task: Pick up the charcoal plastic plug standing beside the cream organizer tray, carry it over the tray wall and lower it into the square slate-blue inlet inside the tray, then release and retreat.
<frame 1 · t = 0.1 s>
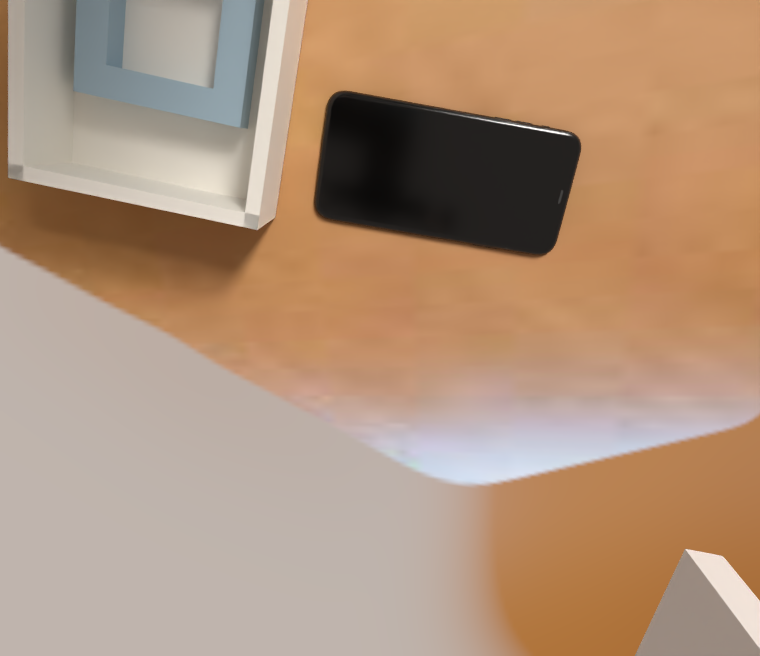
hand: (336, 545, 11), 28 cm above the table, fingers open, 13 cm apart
tray box: (187, 9, 33), on the table
smartphone: (444, 175, 36), on the table
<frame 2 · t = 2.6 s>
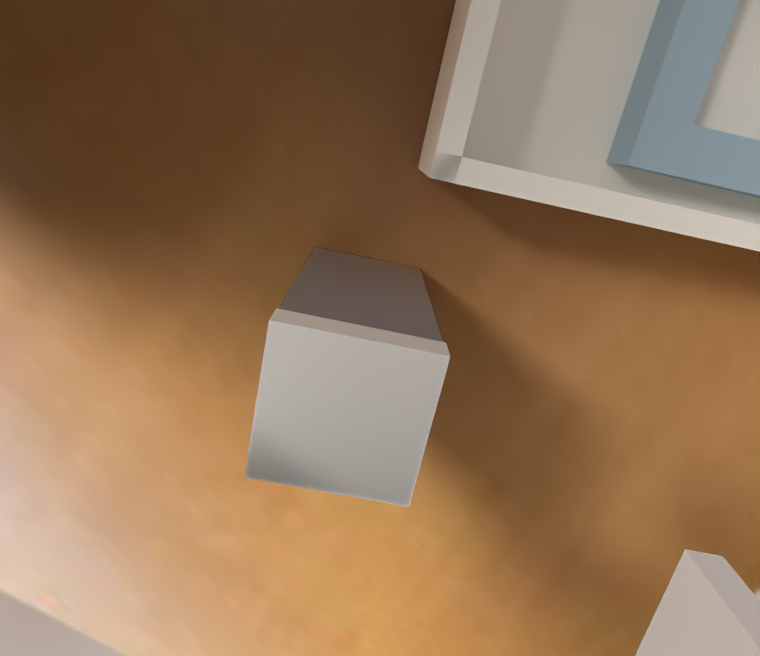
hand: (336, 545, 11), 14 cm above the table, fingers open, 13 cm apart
tray box: (742, 45, 21), on the table
grey plug: (357, 307, 24), on the table
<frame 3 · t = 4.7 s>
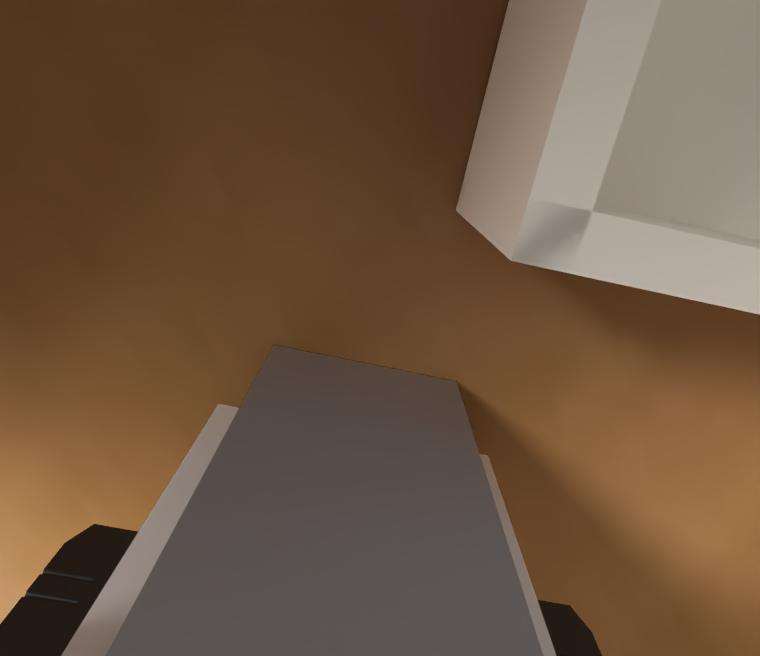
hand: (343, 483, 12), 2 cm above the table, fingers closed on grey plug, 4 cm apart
grey plug: (347, 444, 14), on the table, touching gripper
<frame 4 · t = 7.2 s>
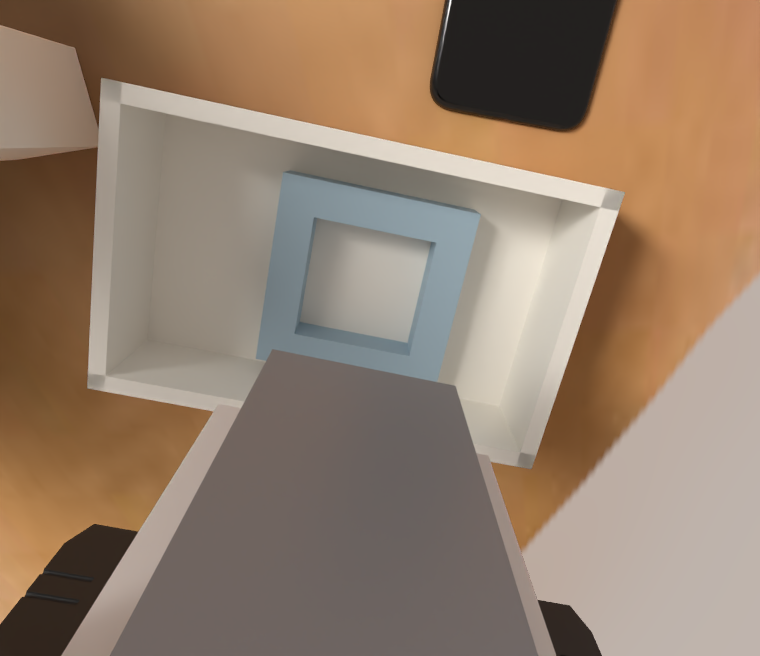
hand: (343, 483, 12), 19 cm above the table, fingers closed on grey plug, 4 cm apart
cream plug: (45, 105, 27), on the table
tray box: (347, 268, 30), on the table
grey plug: (346, 448, 14), point 17 cm above the table, touching gripper
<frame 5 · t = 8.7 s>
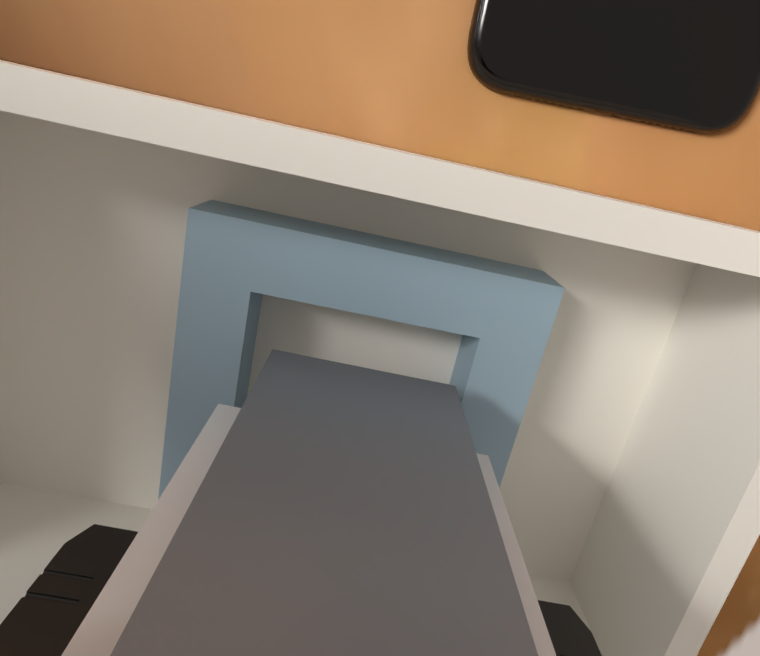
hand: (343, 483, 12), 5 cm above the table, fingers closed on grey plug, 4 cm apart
tray box: (319, 365, 17), on the table
grey plug: (347, 448, 14), point 4 cm above the table, touching gripper
when the fingers open (3 cm above the table, at t = 9.7 s): grey plug stays where it is, resting on tray box.
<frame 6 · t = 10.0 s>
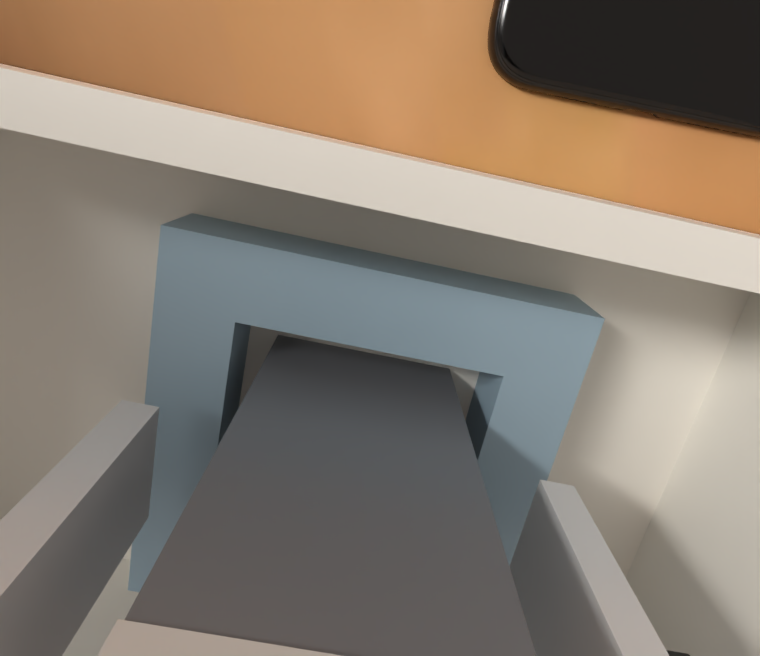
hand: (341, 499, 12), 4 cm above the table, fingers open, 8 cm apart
tray box: (317, 400, 15), on the table
grey plug: (348, 428, 15), resting on tray box
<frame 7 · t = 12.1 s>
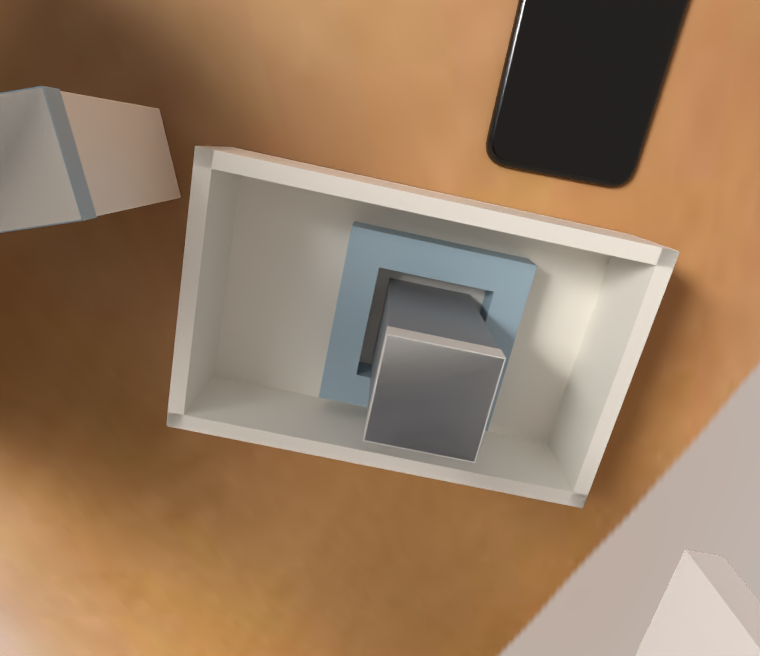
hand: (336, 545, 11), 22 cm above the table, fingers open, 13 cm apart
cream plug: (129, 160, 29), on the table
tray box: (405, 312, 31), on the table
grey plug: (420, 324, 31), resting on tray box
smartphone: (596, 9, 27), on the table
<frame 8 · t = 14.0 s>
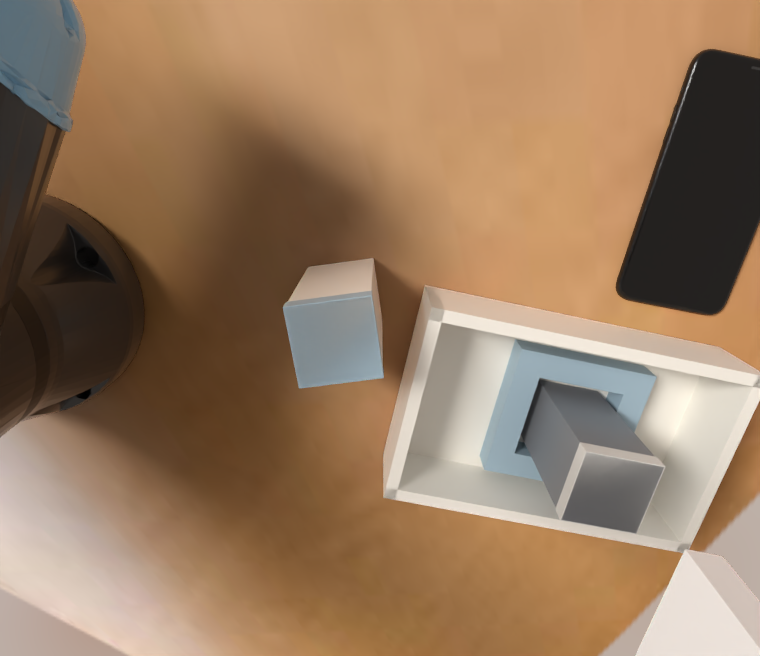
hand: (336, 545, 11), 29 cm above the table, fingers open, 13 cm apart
cream plug: (345, 294, 39), on the table
tray box: (545, 402, 41), on the table
grey plug: (558, 412, 41), resting on tray box
smartphone: (703, 190, 37), on the table
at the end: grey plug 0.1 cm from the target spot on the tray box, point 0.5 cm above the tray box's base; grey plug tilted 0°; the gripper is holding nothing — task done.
